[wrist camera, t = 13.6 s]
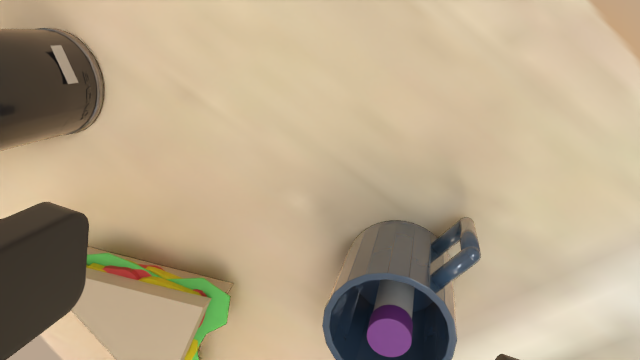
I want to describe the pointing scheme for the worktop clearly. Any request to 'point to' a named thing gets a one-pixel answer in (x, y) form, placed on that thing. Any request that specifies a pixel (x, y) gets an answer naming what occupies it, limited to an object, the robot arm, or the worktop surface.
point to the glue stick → (391, 319)
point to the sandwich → (149, 307)
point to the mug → (407, 267)
